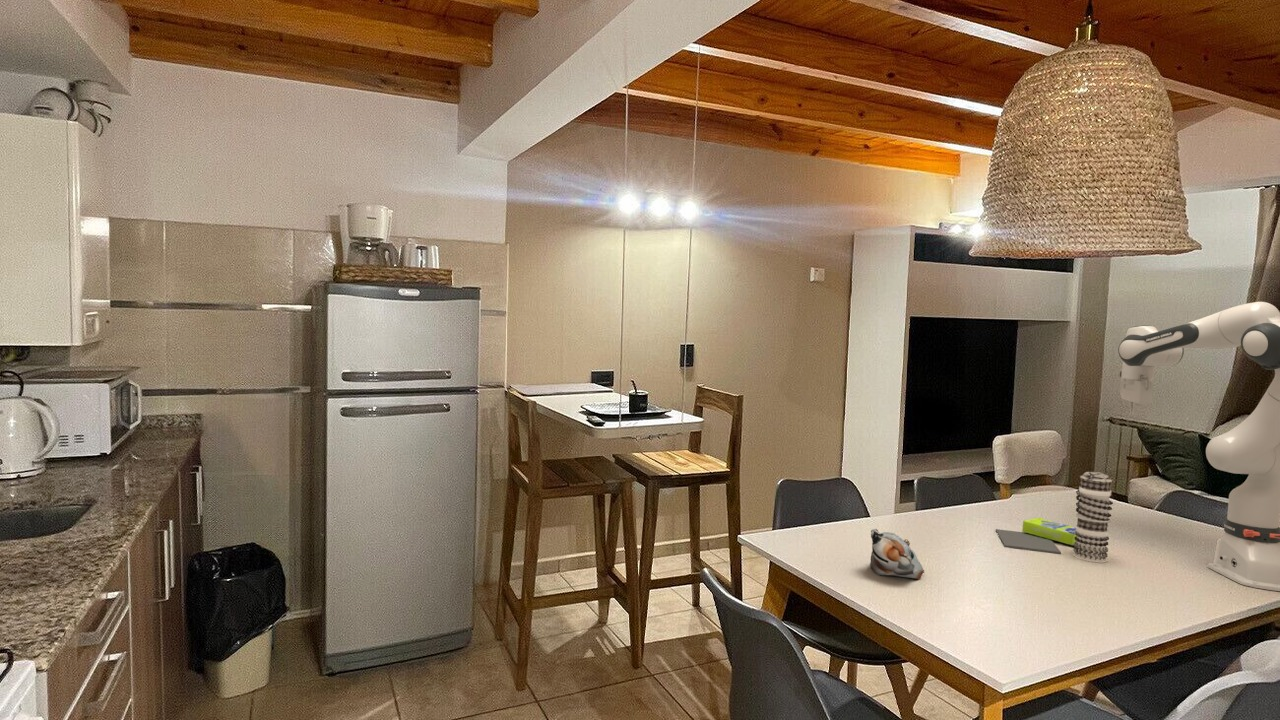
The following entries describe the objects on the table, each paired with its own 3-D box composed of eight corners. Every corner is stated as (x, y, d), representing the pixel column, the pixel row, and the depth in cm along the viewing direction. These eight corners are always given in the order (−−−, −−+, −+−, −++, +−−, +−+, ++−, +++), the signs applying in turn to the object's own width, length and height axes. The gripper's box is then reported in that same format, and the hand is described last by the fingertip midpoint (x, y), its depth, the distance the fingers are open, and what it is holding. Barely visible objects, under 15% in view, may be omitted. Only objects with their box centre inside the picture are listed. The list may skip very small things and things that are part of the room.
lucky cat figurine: (934, 579, 186) (931, 538, 180) (897, 600, 183) (892, 559, 177) (895, 546, 199) (891, 507, 193) (859, 565, 196) (854, 526, 190)
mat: (1060, 554, 212) (1061, 552, 212) (1004, 547, 217) (1004, 545, 217) (1047, 536, 230) (1047, 535, 230) (995, 530, 235) (995, 529, 235)
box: (1037, 516, 238) (1095, 531, 224) (1035, 528, 238) (1093, 544, 224) (1022, 520, 231) (1081, 535, 218) (1021, 532, 231) (1079, 549, 218)
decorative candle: (1081, 551, 216) (1087, 469, 215) (1114, 560, 208) (1121, 475, 207) (1065, 555, 211) (1071, 471, 210) (1099, 564, 204) (1105, 477, 202)
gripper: (1160, 376, 228) (1156, 420, 229) (1138, 373, 247) (1135, 413, 248) (1137, 375, 230) (1133, 418, 231) (1117, 372, 249) (1114, 411, 250)
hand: (1134, 415), depth 239 cm, fingers closed
